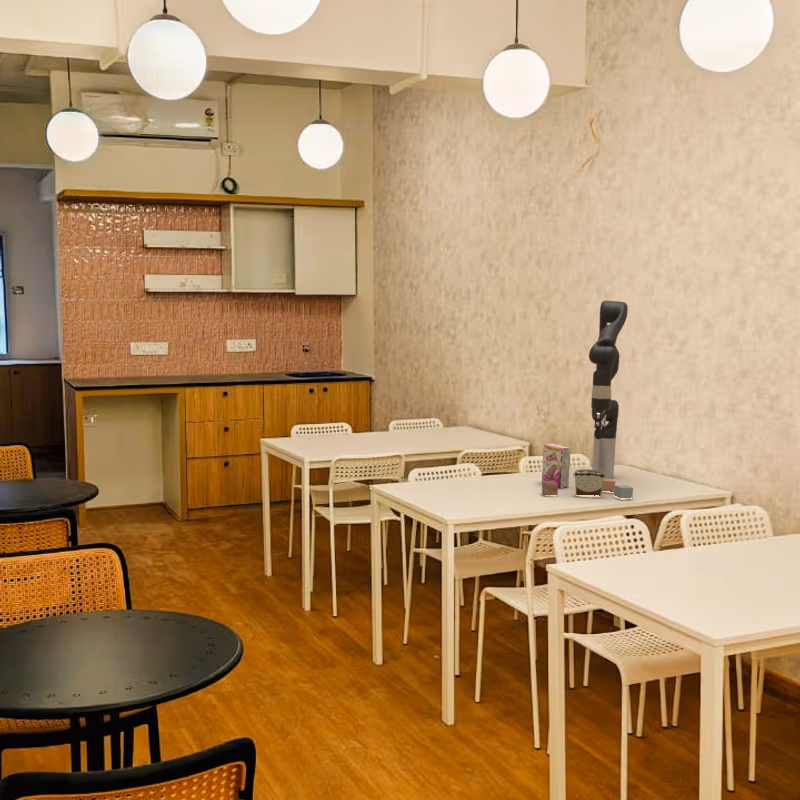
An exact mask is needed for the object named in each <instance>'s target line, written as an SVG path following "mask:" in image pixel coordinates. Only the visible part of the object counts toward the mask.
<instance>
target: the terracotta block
mask: <svg viewBox="0 0 800 800" xmlns="http://www.w3.org/2000/svg"><path fill="white" fill-rule="evenodd" d="M615 485H616V480H615V479H614V478H609V479H606V478H604V480H603V486H602V491H610V492H614V493H615Z"/></svg>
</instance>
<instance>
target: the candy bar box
mask: <svg viewBox="0 0 800 800" xmlns="http://www.w3.org/2000/svg"><path fill="white" fill-rule="evenodd" d="M542 454H543V455H542V474H541V484H542V483H543V481H552V482H556V483H557V484H558V487H559V488H558V489H563V488H562V487H567V488H569V485H570V484H569V483H570V482H569V479H570V461H571V448H570V447H568V446H567V447H566V446H563V445H559V444H556V443H555V444H554V443H545V444H543V453H542Z"/></svg>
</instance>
